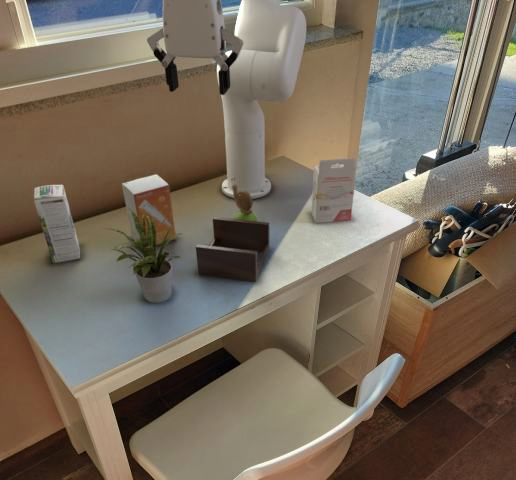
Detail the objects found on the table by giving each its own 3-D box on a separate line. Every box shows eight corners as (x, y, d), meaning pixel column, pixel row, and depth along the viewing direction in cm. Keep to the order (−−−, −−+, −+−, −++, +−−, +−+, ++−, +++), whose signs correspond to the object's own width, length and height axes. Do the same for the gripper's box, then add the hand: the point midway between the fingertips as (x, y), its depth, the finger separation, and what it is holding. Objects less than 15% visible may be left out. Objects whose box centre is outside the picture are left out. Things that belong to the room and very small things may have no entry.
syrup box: (52, 250, 112) (31, 187, 102) (80, 245, 113) (62, 182, 103) (53, 264, 108) (31, 199, 98) (82, 259, 109) (63, 195, 99)
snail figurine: (243, 223, 119) (241, 173, 111) (262, 233, 116) (262, 183, 107) (225, 231, 116) (222, 181, 108) (244, 242, 113) (242, 191, 105)
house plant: (103, 288, 101) (83, 213, 90) (165, 264, 107) (153, 190, 96) (137, 325, 93) (119, 247, 81) (202, 296, 99) (193, 220, 87)
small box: (143, 250, 111) (132, 194, 102) (131, 238, 115) (120, 182, 106) (177, 239, 114) (169, 184, 105) (164, 227, 118) (156, 173, 109)
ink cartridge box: (345, 210, 123) (352, 149, 113) (351, 220, 119) (358, 158, 109) (310, 213, 122) (314, 151, 112) (314, 223, 118) (319, 161, 109)
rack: (216, 243, 113) (213, 216, 108) (269, 249, 111) (269, 222, 106) (198, 274, 104) (195, 246, 100) (256, 282, 102) (255, 254, 97)
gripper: (246, -25, 84) (249, 87, 96) (148, -27, 87) (162, 82, 99) (234, -18, 79) (238, 100, 90) (130, -20, 82) (147, 94, 94)
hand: (198, 91), depth 95 cm, fingers open, 9 cm apart
